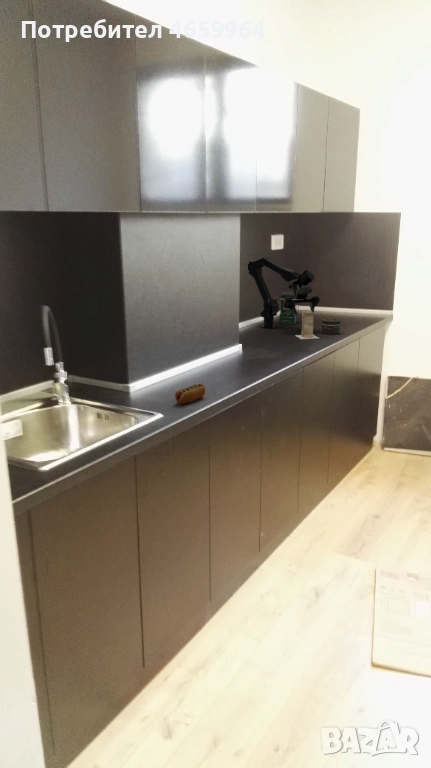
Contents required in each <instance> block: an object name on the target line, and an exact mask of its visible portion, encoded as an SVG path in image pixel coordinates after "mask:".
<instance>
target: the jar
mask: <svg viewBox="0 0 431 768" xmlns="http://www.w3.org/2000/svg"><path fill="white" fill-rule="evenodd" d="M341 323H342V322H341V319H338V318H333V317H332V318H329V317H328V318H327V317H326V318H323V319H321V323H320V324H321V328H320V329H321V334H323V335H329V336H333V335H339V334H340V332H341Z"/></svg>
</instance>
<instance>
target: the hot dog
mask: <svg viewBox="0 0 431 768" xmlns="http://www.w3.org/2000/svg"><path fill="white" fill-rule="evenodd" d="M205 394H206V387H205V386H204V384H202V383H198V384H193V385H189V386H187V387H183V388H180V389H178V390H177V391H175V393H174V398H175V401H176V402H177V403H178V404H181V405H186V404H185V403H187V404H189V403H188V402H191V401H193V402H195V401H194V400H196V399H198V400H200V399H201V397H202V398H203V396H204V395H205ZM199 398H200V399H199ZM196 401H197V400H196ZM191 403H192V402H191Z"/></svg>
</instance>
